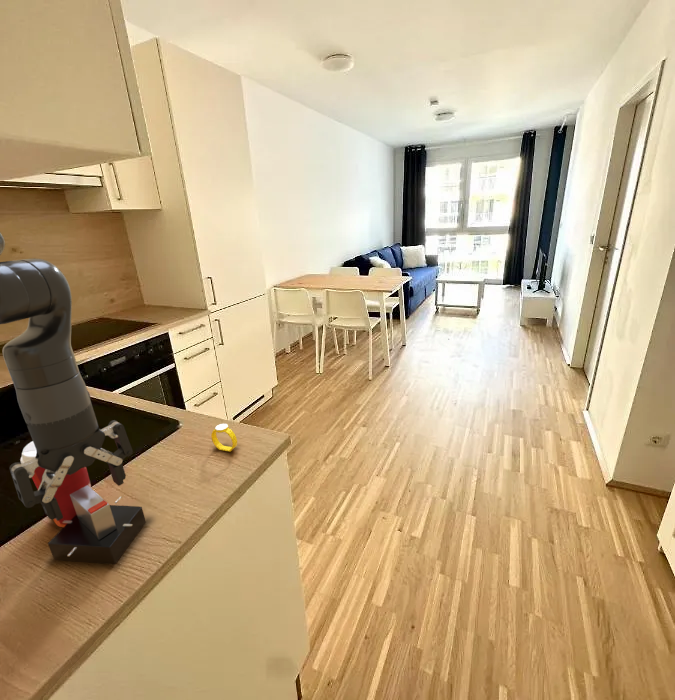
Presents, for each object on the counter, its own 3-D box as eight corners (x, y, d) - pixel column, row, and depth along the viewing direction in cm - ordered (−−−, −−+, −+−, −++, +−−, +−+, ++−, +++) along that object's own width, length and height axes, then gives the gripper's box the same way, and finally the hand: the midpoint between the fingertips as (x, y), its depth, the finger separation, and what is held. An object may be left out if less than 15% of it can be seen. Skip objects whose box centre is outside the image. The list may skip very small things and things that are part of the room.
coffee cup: (112, 498, 67) (91, 429, 62) (78, 534, 60) (51, 459, 54) (72, 495, 68) (47, 428, 63) (33, 531, 61) (2, 457, 55)
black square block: (39, 571, 54) (31, 553, 52) (95, 511, 65) (89, 494, 63) (112, 576, 53) (106, 558, 51) (156, 514, 63) (152, 497, 62)
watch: (240, 448, 81) (237, 425, 79) (233, 455, 79) (229, 432, 77) (219, 443, 83) (215, 421, 81) (211, 450, 81) (207, 427, 79)
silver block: (78, 518, 58) (69, 493, 57) (95, 508, 60) (87, 483, 58) (99, 540, 54) (89, 513, 52) (117, 528, 56) (108, 502, 54)
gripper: (101, 382, 57) (125, 465, 63) (-17, 423, 47) (25, 519, 52) (124, 393, 53) (147, 481, 59) (0, 441, 42) (44, 543, 48)
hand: (90, 499), depth 56 cm, fingers open, 8 cm apart
